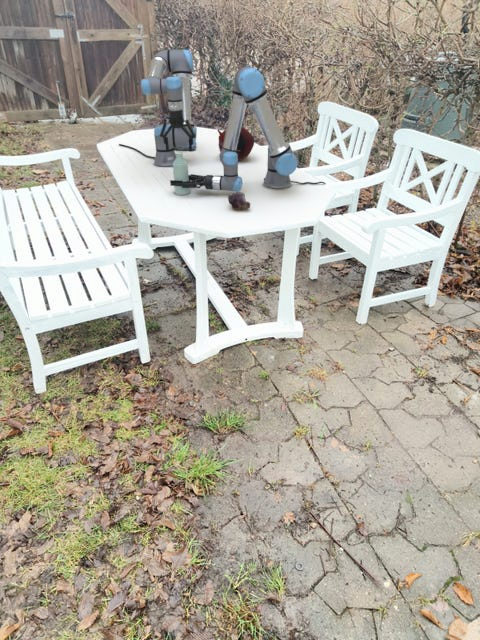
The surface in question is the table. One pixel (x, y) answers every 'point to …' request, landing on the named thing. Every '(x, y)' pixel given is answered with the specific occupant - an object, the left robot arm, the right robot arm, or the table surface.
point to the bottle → (180, 173)
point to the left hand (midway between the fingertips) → (179, 150)
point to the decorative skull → (240, 143)
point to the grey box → (185, 148)
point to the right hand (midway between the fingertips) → (173, 180)
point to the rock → (238, 201)
